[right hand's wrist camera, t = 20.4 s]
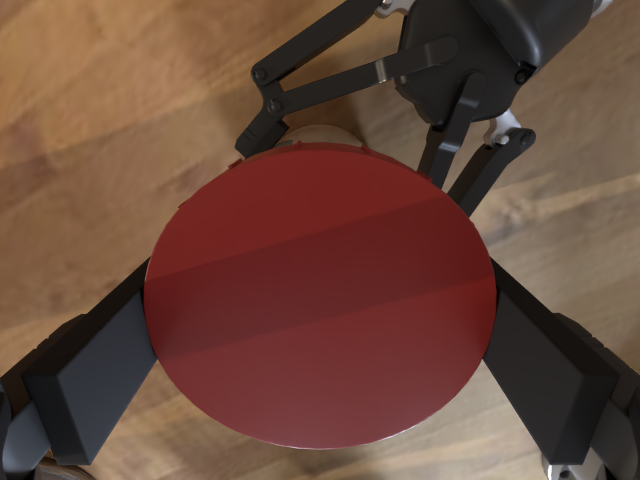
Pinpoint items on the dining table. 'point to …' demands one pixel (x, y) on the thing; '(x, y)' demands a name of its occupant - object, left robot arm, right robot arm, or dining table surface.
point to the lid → (320, 297)
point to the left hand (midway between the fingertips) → (279, 244)
